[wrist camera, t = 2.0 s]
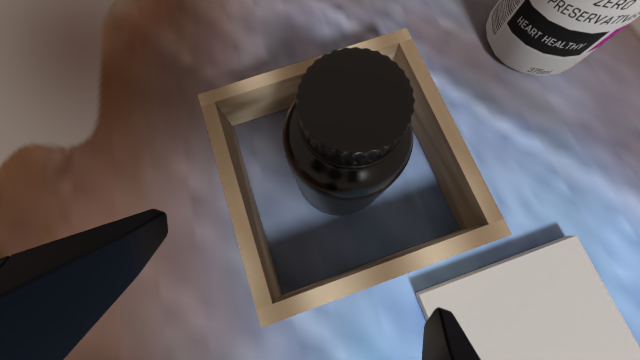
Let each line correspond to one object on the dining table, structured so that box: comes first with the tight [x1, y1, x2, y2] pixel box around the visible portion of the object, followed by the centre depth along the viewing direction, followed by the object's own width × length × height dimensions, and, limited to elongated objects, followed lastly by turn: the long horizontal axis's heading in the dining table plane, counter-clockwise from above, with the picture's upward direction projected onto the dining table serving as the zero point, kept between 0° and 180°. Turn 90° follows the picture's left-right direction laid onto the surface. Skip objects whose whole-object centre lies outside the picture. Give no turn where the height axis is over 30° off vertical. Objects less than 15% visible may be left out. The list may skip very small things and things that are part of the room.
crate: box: [198, 28, 511, 327], centre depth 21 cm, size 16×16×4 cm
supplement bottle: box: [283, 47, 415, 216], centre depth 17 cm, size 7×7×12 cm
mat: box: [415, 236, 640, 360], centre depth 19 cm, size 12×12×1 cm
